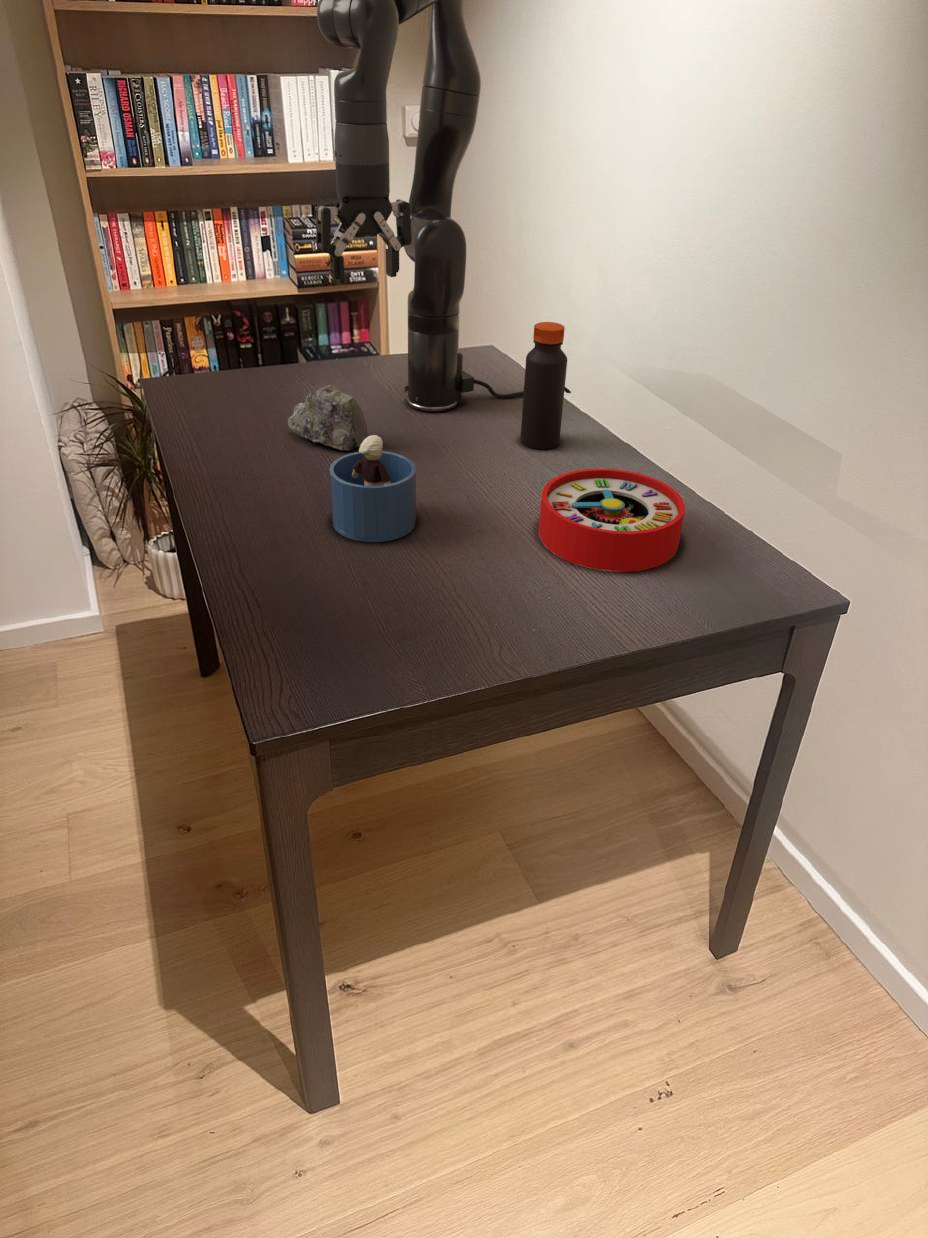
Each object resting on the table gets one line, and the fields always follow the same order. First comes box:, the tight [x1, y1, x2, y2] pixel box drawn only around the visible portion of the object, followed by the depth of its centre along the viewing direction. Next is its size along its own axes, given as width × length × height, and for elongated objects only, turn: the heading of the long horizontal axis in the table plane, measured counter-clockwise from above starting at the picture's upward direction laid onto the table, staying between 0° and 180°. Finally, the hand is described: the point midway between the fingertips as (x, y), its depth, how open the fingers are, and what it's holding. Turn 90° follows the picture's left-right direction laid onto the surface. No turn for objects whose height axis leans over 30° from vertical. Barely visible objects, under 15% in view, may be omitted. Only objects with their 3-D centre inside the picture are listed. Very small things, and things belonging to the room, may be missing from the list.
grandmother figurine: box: [352, 434, 391, 486], centre depth 128 cm, size 8×4×13 cm, turn 61°
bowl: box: [328, 450, 417, 543], centre depth 130 cm, size 12×12×8 cm
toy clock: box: [538, 468, 686, 573], centre depth 129 cm, size 20×6×20 cm
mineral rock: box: [287, 384, 369, 452], centre depth 153 cm, size 13×11×10 cm
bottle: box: [519, 321, 568, 450], centre depth 152 cm, size 7×7×20 cm
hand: (365, 278), depth 136 cm, fingers open, 8 cm apart
